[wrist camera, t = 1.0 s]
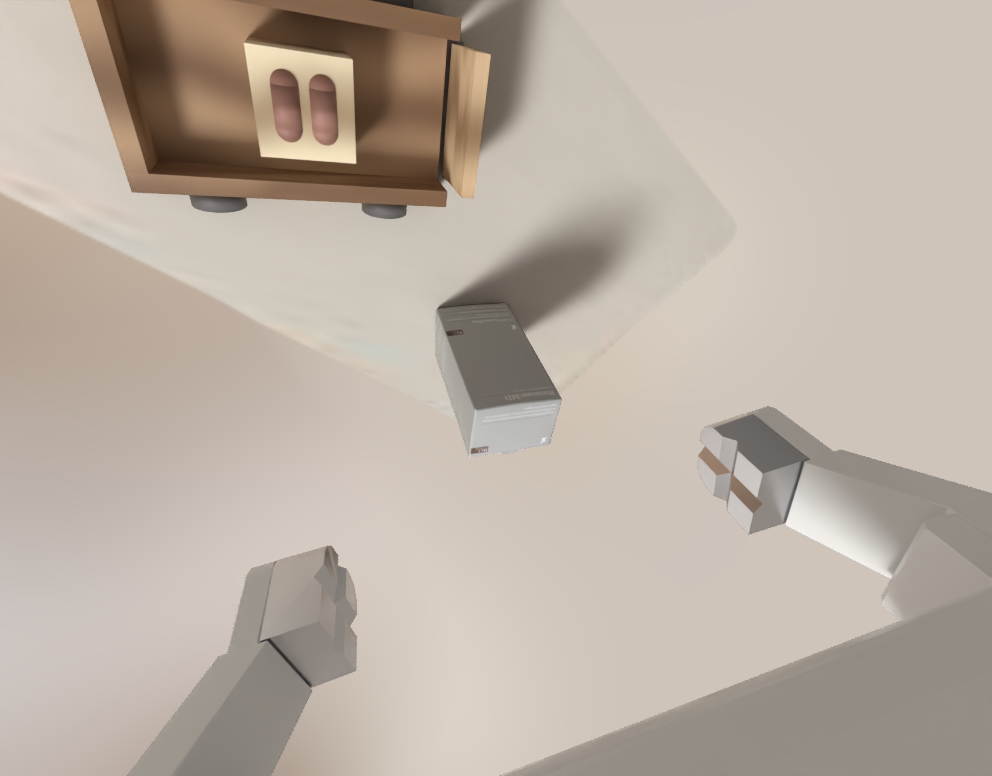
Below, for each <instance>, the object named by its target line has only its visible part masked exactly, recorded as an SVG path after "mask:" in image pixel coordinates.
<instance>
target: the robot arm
mask: <svg viewBox="0 0 992 776" xmlns="http://www.w3.org/2000/svg"><path fill="white" fill-rule="evenodd" d="M700 441H701V442H702V443H703V444H704V445H705V447H704V448H703V450H702V451H701V452H700V454H699V455H698V466H697V467H698V470H699V474H700V477H701V479H702V481H703V482H704V484H705V486H706V487H707V489H708V490H709V491H710V492H711V493H712V494H713V495H714V496H716V497H718V498H721V499H723V500H725V501H727V511H728V512H729V513H730V515H731V516H732V517H733V518H734V519H735V520H736V521H737V522H738V524H740V526H741V527H742V528H743V529H744V530H745V531H746V532H747V533H748V534H752V533H755V532H758V531H761V530H764V529H767V528H771V527H774V526H777V525H780V524H784V523H786V525H787V526H788V527H790V528H792V529H794V530H796V531H798V532H800V533H802V534H804V535H806V536H808V537H810V538H812V539H814V540H816V541H818V542H820V543H822V544H823V545H825V546H827V547H829V548H831V549H833V550H835V551H837V552H839V553H841V554H843V555H845V556H847V557H849V558H851V559H853V560H855V561H857V562H859V563H861V564H863V565H865V566H867V567H869V568H870V569H872V570H874V571H876V572H878V573H880V574H882V575H884V576H886V577H888V578H890V579H891V580H890V582H889V583H888V585H887V587H886V589H885V590H884V592H883V594H882V597H881V604H882V605H883V606H884V607H885V608H886V609H887V610H888V611H889V612H890V613H891V614H892V615H893V616H895V617H896V619H897V620H899V622H896V623H893V624H891V625H888V626H886V627H883V628H881V629H878V630H875V631H873V632H870V633H868V634H865V635H862V636H860V637H857V638H855V639H852V640H849V641H847V642H844V643H842V644H839V645H837V646H834V647H831V648H829V649H826V650H824V651H821V652H818V653H816V654H813V655H811V656H808V657H805V658H803V659H800V660H798V661H795V662H793V663H790V664H788V665H785V666H782V667H780V668H777V669H774V670H772V671H769V672H767V673H764V674H761V675H759V676H757V677H754V678H751V679H749V680H746V681H743V682H741V683H738V684H736V685H733V686H730V687H728V688H725V689H723V690H720V691H718V692H715V693H713V694H710V695H707V696H705V697H702V698H699V699H697V700H694V701H692V702H689V703H687V704H684V705H681V706H679V707H676V708H674V709H671V710H669V711H666V712H663V713H661V714H658V715H655V716H653V717H650V718H648V719H645V720H643V721H640V722H638V723H635V724H632V725H630V726H627V727H624V728H622V729H619V730H617V731H614V732H611V733H609V734H606V735H604V736H601V737H599V738H596V739H593V740H591V741H588V742H586V743H583V744H581V745H578V746H575V747H573V748H570V749H568V750H565V751H562V752H560V753H557V754H555V755H552V756H549V757H547V758H544V759H542V760H539V761H537V762H534V763H532V764H529V765H526V766H524V767H521V768H519V769H516V770H513V771H511V772H508V773H505V774H503V775H500V776H992V493H989V492H986V491H982V490H978V489H975V488H972V487H968V486H965V485H961V484H958V483H955V482H951V481H947V480H944V479H940V478H937V477H933V476H930V475H927V474H923V473H920V472H916V471H913V470H910V469H906V468H903V467H899V466H896V465H892V464H889V463H885V462H882V461H878V460H875V459H871V458H868V457H865V456H861V455H858V454H854V453H851V452H847V451H844V450H838V451H832V450H831V449H830V448H828V447H827V446H826V445H824V444H823V443H822V442H820V441H819V440H818V439H816V438H815V437H814V436H812V435H811V434H809V433H808V432H807V431H805V430H804V429H803V428H801V427H800V426H798V425H797V424H796V423H794V422H793V421H792V420H791V419H789V418H788V417H786V416H785V415H784V414H782V413H781V412H780V411H778V410H777V409H775V408H772V407H769V406H767V407H764V408H761V409H758V410H755V411H752V412H749V413H746V414H742V415H739V416H736V417H733V418H730V419H727V420H724V421H721V422H717V423H715V424H712V425H708V426H705V427H704V429H703V430H702V431H701V436H700ZM356 615H357V600H356V594H355V588H354V584H353V581H352V579H351V576H350V574H349V573H348V571H347V569H345V568H343V567H340V566H338V554H337V553H336V552H335V550H334V549H333V547H332V546H326V547H322V548H319V549H315V550H312V551H308V552H305V553H301V554H298V555H294V556H291V557H288V558H284V559H281V560H277V561H275V562H271V563H268V564H265V565H262V566H258V567H254V568H252V569H251V570H250V571H249V573H248V574H247V576H246V578H245V582H244V586H243V590H242V594H241V598H240V602H239V606H238V610H237V615H236V619H235V623H234V627H233V631H232V635H231V639H230V643H229V647H228V651H227V654H224V655H221V656H219V657H218V658H217V659H216V660H215V662H214V663H213V665H212V666H211V667H210V668H209V670H208V671H207V672H206V673H205V675H204V676H203V677H202V679H201V680H200V681H199V683H198V684H197V685H196V686H195V688H194V689H193V690H192V692H191V693H190V694H189V696H188V697H187V698H186V699H185V701H184V702H183V703H182V705H181V706H180V707H179V709H178V710H177V711H176V712H175V714H174V715H173V716H172V718H171V719H170V720H169V722H168V723H167V724H166V725H165V727H164V728H163V729H162V731H161V732H160V733H159V735H158V736H157V737H156V738H155V740H154V741H153V742H152V744H151V745H150V746H149V748H148V749H147V750H146V751H145V753H144V754H143V755H142V757H141V758H140V759H139V761H138V762H137V763H136V764H135V766H134V767H133V768H132V770H131V771H130V772H129V774H128V775H127V776H271V775H272V773H273V771H274V769H275V767H276V765H277V762H278V760H279V758H280V756H281V754H282V752H283V750H284V748H285V746H286V744H287V742H288V739H289V738H290V736H291V734H292V731H293V730H294V727H295V725H296V723H297V721H298V719H299V717H300V715H301V713H302V711H303V709H304V707H305V705H306V703H307V701H308V699H309V697H310V695H311V693H312V689H311V688H312V687H315V686H317V685H320V684H323V683H325V682H328V681H331V680H333V679H336V678H339V677H341V676H344V675H347V674H349V673H352V672H354V671H356V647H357V641H356V640H357V636H356V635H355V633H354V632H353V630H352V629H351V627H350V625H351V624H352V622H353V620H354V618H355V617H356Z"/></svg>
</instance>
